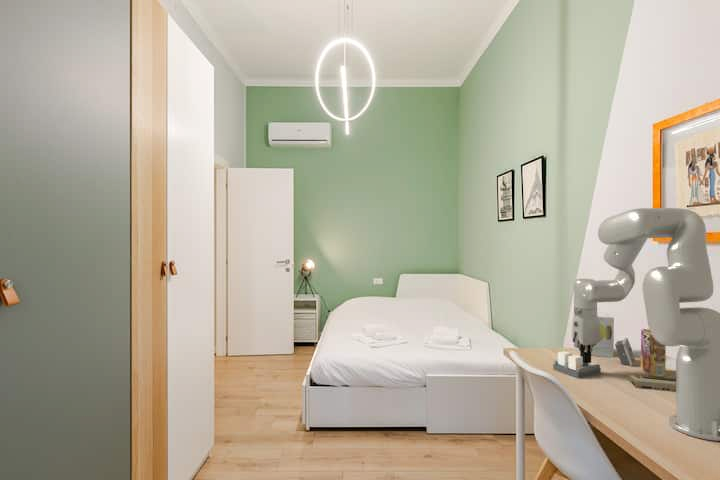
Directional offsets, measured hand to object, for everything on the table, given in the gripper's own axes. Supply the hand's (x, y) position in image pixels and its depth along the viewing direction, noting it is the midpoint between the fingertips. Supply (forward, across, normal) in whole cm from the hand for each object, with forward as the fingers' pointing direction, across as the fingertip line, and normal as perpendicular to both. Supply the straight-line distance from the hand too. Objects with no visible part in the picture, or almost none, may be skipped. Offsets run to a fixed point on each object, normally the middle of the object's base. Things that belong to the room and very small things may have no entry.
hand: (585, 362), depth 150 cm
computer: (+5, +10, -20) cm, 22 cm away
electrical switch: (+4, +25, +1) cm, 25 cm away
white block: (+2, -5, 0) cm, 6 cm away
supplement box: (+4, +27, +14) cm, 31 cm away
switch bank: (+4, -2, +2) cm, 5 cm away
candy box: (+4, +22, -11) cm, 25 cm away
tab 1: (+2, -5, +5) cm, 7 cm away
